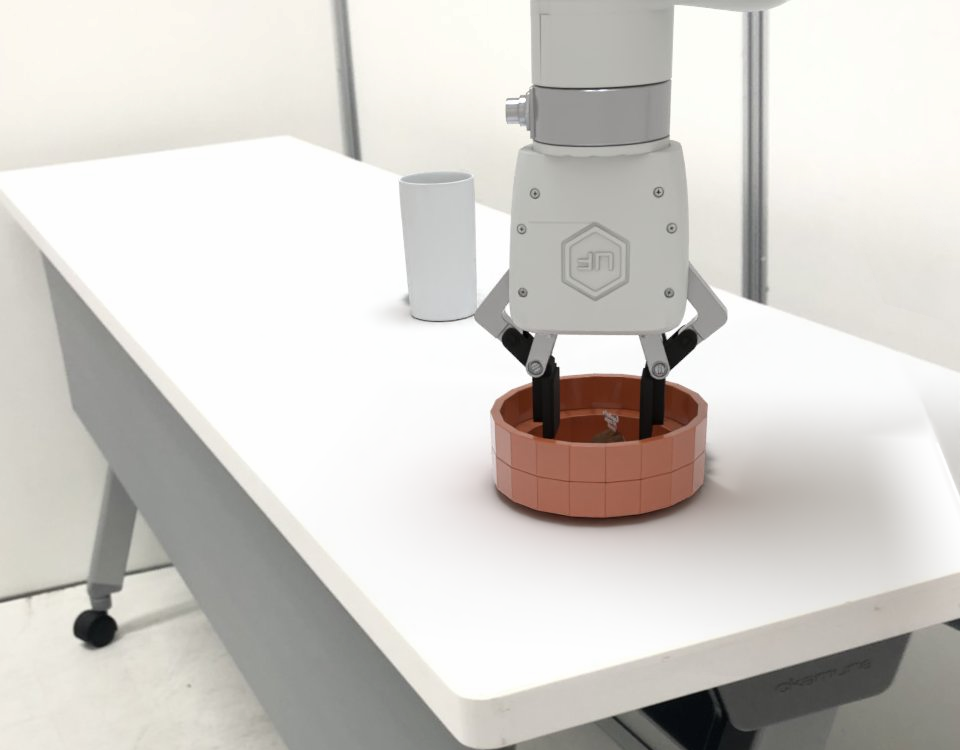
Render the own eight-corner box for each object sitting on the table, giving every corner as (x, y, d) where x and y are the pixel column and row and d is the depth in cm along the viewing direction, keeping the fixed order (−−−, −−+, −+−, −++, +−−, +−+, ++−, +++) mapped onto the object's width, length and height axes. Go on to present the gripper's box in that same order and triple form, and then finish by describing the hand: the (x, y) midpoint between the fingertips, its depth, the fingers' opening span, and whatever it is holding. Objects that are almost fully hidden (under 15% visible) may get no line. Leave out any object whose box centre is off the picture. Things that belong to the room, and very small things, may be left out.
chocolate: (576, 469, 77) (575, 409, 75) (606, 462, 78) (607, 402, 76) (599, 485, 75) (599, 423, 73) (630, 478, 76) (631, 416, 74)
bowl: (705, 447, 81) (709, 374, 79) (701, 530, 70) (705, 449, 68) (511, 442, 84) (509, 371, 81) (477, 522, 72) (473, 443, 70)
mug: (467, 323, 110) (461, 184, 104) (397, 321, 111) (387, 183, 105) (497, 295, 118) (493, 164, 112) (432, 293, 120) (424, 164, 114)
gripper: (433, 131, 64) (451, 453, 74) (762, 125, 61) (739, 460, 71) (460, 113, 71) (474, 410, 80) (759, 106, 68) (738, 416, 77)
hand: (598, 431), depth 75 cm, fingers open, 5 cm apart
